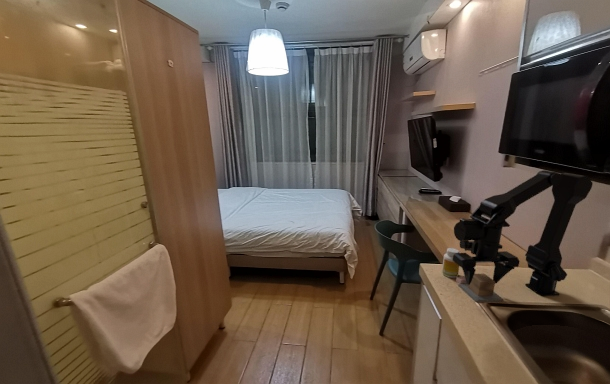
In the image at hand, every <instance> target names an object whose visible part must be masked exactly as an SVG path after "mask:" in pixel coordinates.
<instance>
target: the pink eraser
mask: <svg viewBox="0 0 610 384" xmlns="http://www.w3.org/2000/svg"><path fill="white" fill-rule="evenodd" d="M455 283H457V284H467V283H466V279H465V276H463V275H462V276H457V277H455Z"/></svg>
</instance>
